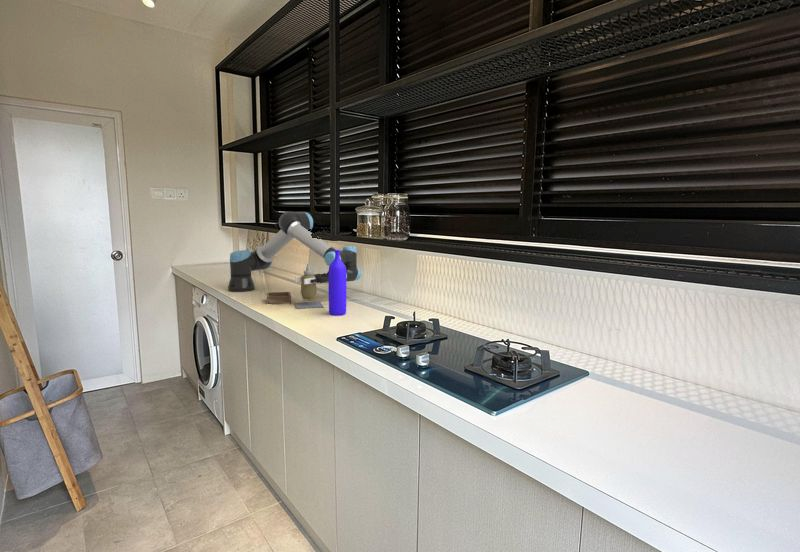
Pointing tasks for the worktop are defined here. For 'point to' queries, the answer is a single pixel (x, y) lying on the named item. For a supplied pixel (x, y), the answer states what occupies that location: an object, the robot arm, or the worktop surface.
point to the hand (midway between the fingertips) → (300, 280)
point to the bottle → (337, 286)
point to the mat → (308, 305)
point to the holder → (279, 298)
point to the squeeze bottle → (308, 285)
